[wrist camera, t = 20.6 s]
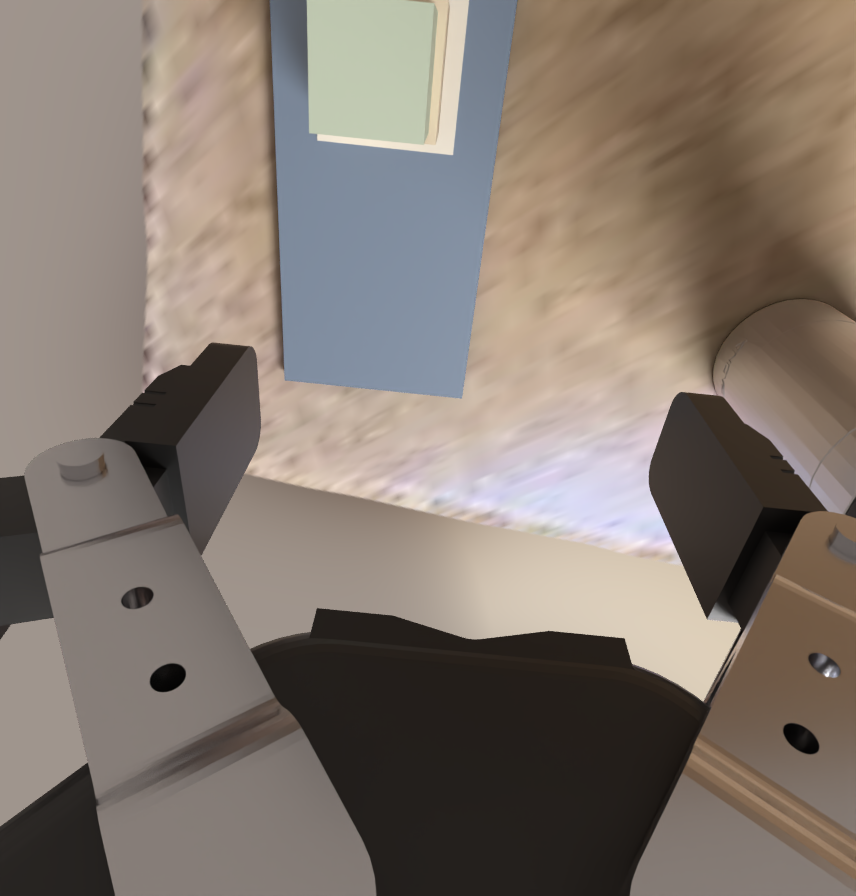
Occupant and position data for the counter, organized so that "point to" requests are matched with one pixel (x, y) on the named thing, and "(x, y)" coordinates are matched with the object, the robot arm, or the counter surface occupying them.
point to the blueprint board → (387, 218)
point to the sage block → (371, 68)
